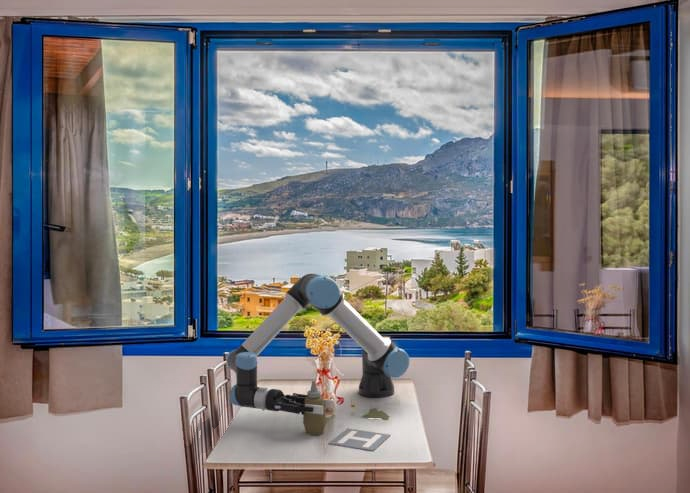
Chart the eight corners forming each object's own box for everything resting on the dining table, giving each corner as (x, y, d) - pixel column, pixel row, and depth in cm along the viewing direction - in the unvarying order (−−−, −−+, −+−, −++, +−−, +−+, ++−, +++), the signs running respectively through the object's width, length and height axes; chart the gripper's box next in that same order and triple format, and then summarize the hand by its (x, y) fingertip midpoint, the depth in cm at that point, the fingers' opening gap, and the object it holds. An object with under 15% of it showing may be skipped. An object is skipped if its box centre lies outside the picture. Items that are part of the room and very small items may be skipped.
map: (369, 428, 212) (369, 425, 212) (354, 412, 229) (354, 410, 229) (398, 425, 215) (398, 422, 215) (381, 409, 232) (381, 407, 232)
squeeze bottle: (319, 438, 202) (318, 385, 201) (298, 434, 205) (297, 382, 204) (330, 430, 209) (329, 379, 208) (310, 427, 213) (309, 377, 212)
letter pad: (347, 429, 210) (347, 428, 210) (390, 435, 203) (390, 434, 203) (328, 443, 197) (328, 443, 197) (373, 451, 190) (373, 450, 190)
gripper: (284, 402, 223) (340, 409, 214) (254, 418, 206) (314, 427, 196) (283, 382, 223) (339, 388, 213) (254, 396, 206) (313, 404, 196)
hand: (327, 407), depth 205 cm, fingers closed on squeeze bottle, 6 cm apart
